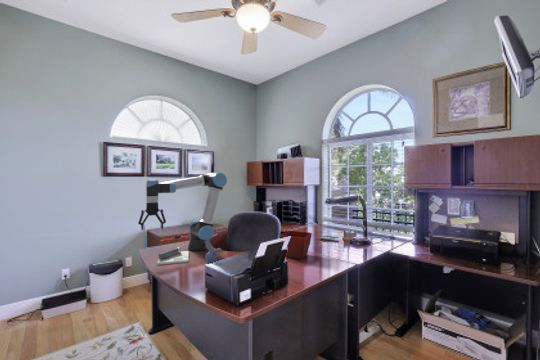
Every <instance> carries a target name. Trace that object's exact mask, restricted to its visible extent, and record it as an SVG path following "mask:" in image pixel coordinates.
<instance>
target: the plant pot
mask: <svg viewBox="0 0 540 360" xmlns="http://www.w3.org/2000/svg"><path fill="white" fill-rule="evenodd" d="M312 235H313V234H312V232H308V231H307V232H306V231H297V230H287V231H286V232H284V233H281V234H279V236H280V239H281V238H283V237H287V236H291V240H290V243H289V246H288V252H287V255H286V256H285V257H286V258H290V259H291V258H293V259H297V260H302V259H304V258H305V256H307V254H308V252H309V248H310V245H311V239H312Z"/></svg>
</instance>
